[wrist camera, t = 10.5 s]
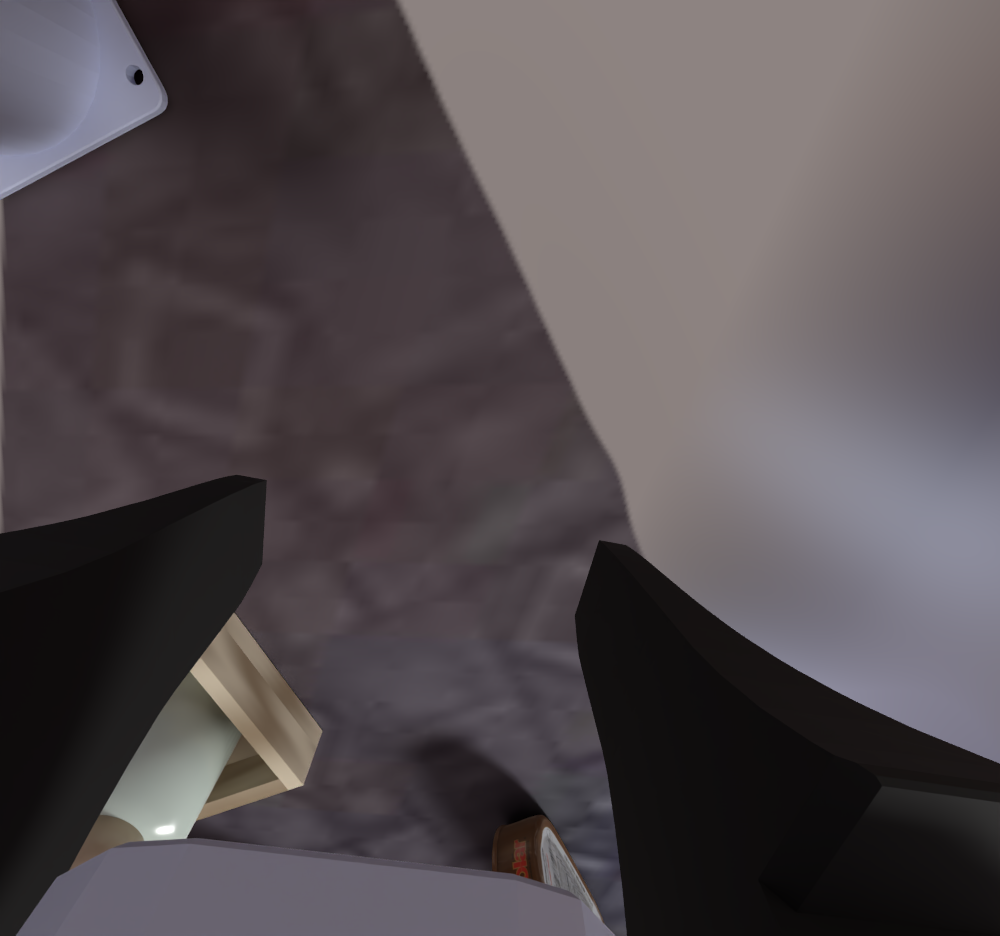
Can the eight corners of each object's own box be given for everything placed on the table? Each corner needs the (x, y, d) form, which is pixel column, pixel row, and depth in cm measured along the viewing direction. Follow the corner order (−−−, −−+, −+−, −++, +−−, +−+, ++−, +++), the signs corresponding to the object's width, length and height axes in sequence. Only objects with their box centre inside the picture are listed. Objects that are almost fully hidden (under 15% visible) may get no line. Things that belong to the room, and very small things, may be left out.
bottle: (116, 701, 25) (-47, 889, 17) (194, 652, 24) (57, 828, 16) (194, 764, 26) (75, 962, 19) (269, 721, 25) (176, 911, 18)
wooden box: (87, 667, 25) (37, 718, 22) (233, 611, 24) (199, 656, 21) (188, 777, 28) (155, 834, 25) (322, 730, 27) (303, 785, 24)
